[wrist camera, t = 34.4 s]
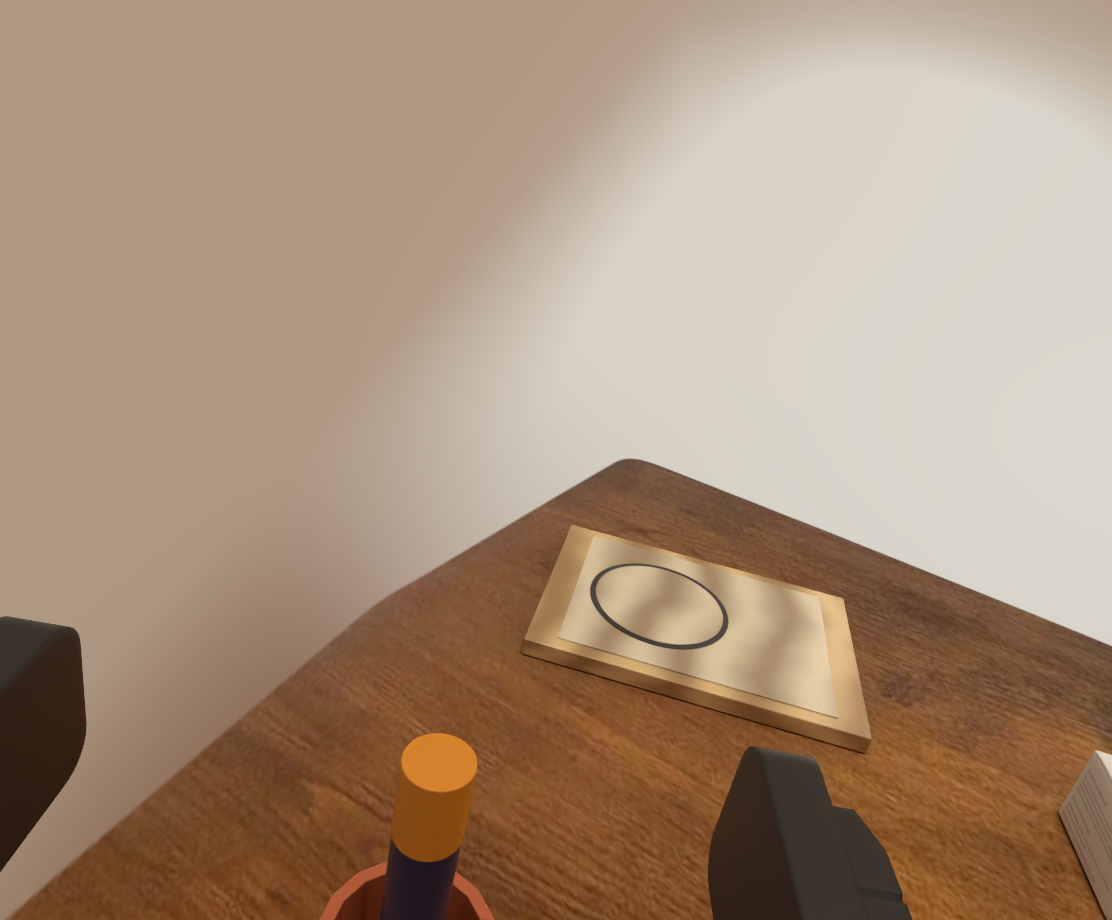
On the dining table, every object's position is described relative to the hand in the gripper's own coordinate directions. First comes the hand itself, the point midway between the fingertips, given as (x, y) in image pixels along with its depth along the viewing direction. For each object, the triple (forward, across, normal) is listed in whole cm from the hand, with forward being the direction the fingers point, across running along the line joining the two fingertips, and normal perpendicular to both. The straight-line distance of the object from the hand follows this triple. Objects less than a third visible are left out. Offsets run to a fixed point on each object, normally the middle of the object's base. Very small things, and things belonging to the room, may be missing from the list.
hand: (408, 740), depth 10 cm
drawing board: (+41, -15, +26) cm, 51 cm away
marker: (+11, 0, +26) cm, 28 cm away
